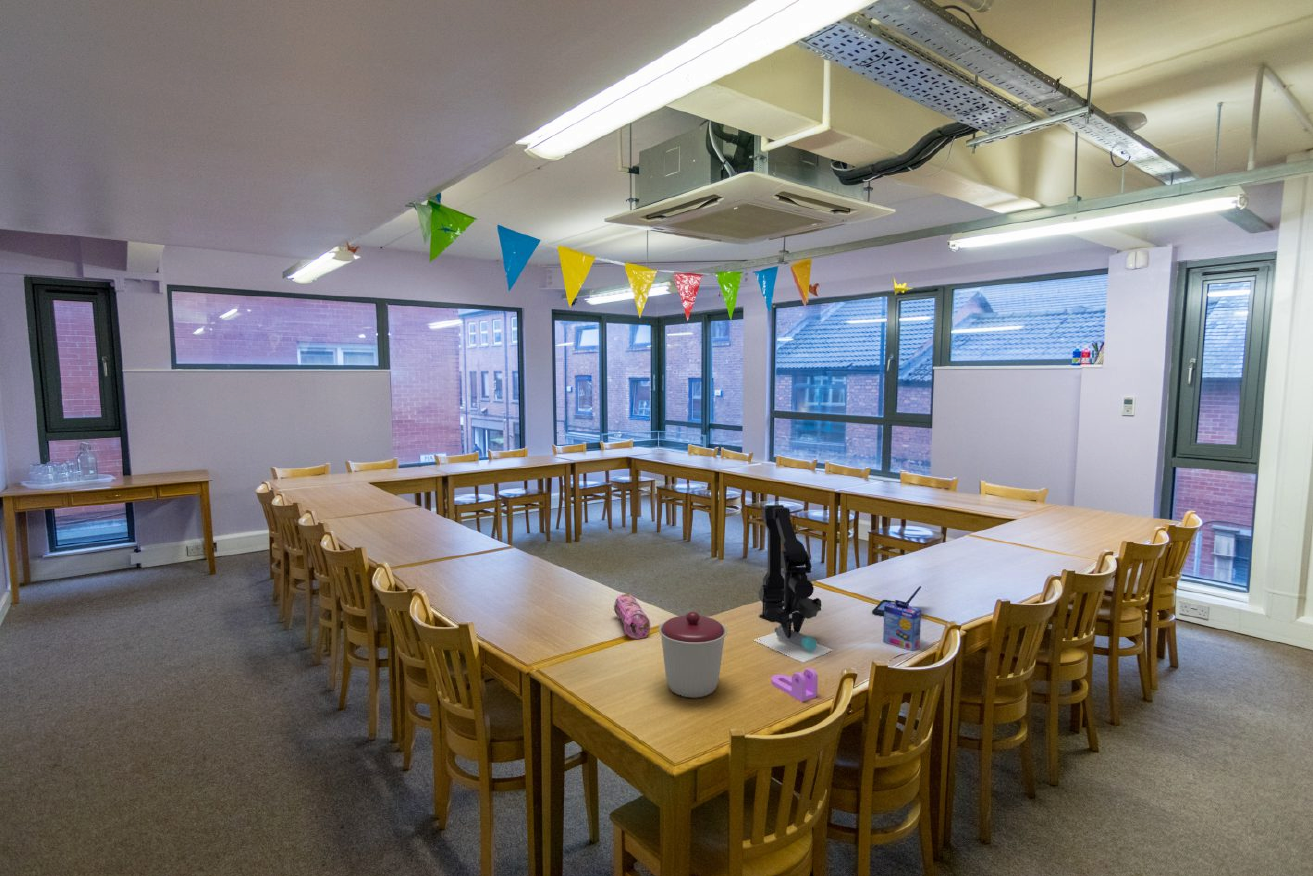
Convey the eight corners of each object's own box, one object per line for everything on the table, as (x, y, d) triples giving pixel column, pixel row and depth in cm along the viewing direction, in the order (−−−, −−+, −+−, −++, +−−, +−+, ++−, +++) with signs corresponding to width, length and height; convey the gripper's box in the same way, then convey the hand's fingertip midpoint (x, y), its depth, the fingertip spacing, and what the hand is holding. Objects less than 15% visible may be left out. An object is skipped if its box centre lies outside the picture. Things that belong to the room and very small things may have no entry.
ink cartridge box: (881, 642, 201) (883, 597, 200) (889, 637, 205) (891, 593, 203) (912, 652, 194) (914, 605, 192) (920, 646, 198) (922, 601, 196)
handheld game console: (883, 602, 238) (884, 578, 237) (921, 610, 230) (922, 585, 229) (870, 615, 225) (871, 589, 224) (910, 623, 217) (911, 597, 216)
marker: (774, 637, 202) (771, 628, 201) (781, 630, 204) (778, 622, 203) (810, 653, 191) (808, 644, 190) (818, 646, 193) (815, 636, 192)
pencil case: (611, 618, 221) (611, 593, 220) (637, 615, 223) (637, 591, 222) (624, 642, 200) (624, 615, 199) (653, 639, 203) (653, 612, 202)
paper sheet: (753, 641, 201) (753, 640, 201) (782, 630, 210) (782, 629, 210) (803, 663, 186) (803, 662, 186) (832, 650, 194) (833, 649, 194)
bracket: (817, 697, 166) (817, 671, 165) (801, 703, 163) (802, 677, 162) (782, 677, 177) (782, 653, 176) (767, 682, 174) (767, 658, 173)
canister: (676, 711, 158) (676, 629, 156) (647, 680, 175) (648, 605, 173) (738, 697, 165) (740, 618, 163) (706, 668, 182) (707, 597, 180)
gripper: (794, 601, 184) (793, 653, 186) (834, 588, 196) (832, 637, 197) (765, 591, 193) (764, 640, 194) (805, 579, 204) (804, 626, 206)
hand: (792, 636), depth 198 cm, fingers closed on marker, 4 cm apart
